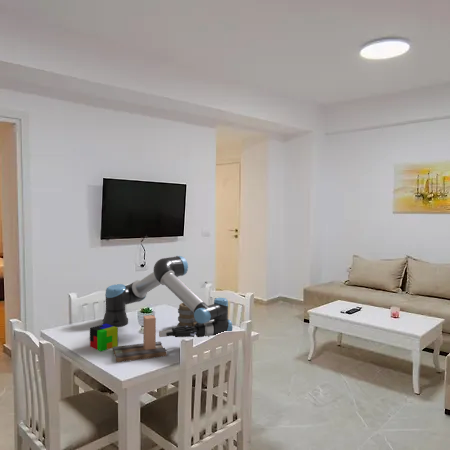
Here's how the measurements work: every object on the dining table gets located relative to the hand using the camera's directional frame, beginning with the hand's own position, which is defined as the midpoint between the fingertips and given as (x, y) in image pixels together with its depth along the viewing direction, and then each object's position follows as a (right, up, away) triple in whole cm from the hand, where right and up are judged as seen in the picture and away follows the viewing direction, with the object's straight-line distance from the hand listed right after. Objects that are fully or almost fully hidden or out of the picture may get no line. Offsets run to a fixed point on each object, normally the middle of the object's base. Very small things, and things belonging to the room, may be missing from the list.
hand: (159, 334), depth 208 cm
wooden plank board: (-10, -9, -3) cm, 13 cm away
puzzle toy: (-30, -8, +6) cm, 32 cm away
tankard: (+13, -7, +37) cm, 40 cm away
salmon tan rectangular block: (-5, -7, -1) cm, 9 cm away
